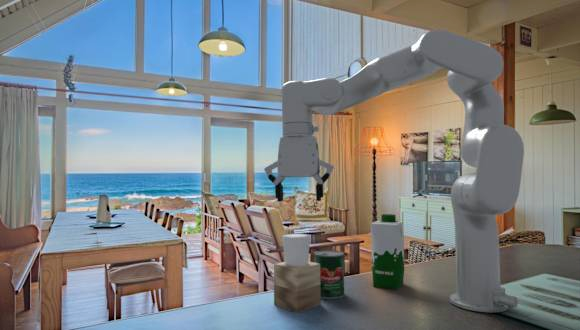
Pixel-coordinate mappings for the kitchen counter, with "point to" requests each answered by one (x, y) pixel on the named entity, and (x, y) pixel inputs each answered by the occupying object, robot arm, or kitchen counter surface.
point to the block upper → (297, 276)
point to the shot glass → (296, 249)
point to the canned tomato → (331, 273)
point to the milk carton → (387, 252)
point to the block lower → (297, 298)
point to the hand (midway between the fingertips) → (299, 200)
